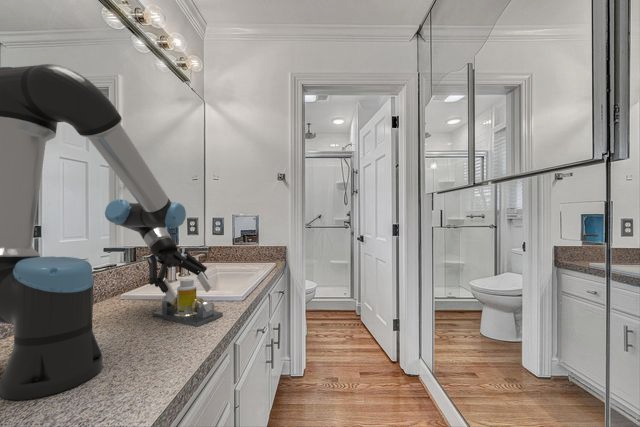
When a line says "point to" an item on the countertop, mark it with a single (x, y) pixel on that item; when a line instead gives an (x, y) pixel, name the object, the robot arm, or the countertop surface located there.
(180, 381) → the countertop surface
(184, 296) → the supplement bottle
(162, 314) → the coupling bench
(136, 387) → the countertop surface
